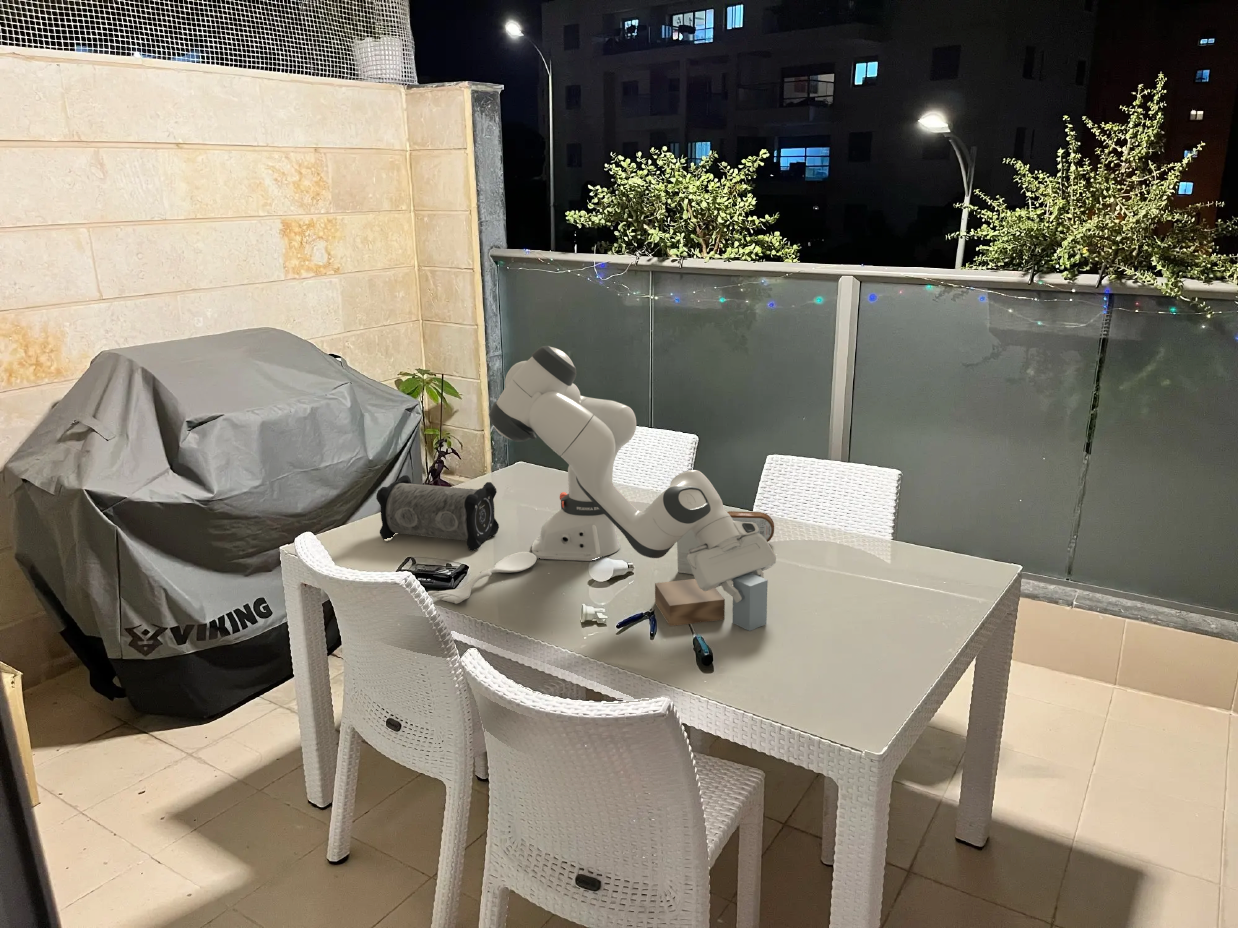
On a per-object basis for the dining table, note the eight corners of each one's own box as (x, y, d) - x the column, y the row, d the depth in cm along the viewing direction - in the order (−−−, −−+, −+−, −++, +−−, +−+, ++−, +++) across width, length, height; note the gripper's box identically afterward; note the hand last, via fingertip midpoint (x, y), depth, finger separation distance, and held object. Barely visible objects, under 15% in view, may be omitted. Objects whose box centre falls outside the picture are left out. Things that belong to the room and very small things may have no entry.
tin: (773, 541, 245) (774, 510, 242) (774, 546, 242) (775, 515, 239) (714, 540, 246) (715, 510, 244) (714, 545, 243) (715, 514, 241)
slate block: (732, 622, 200) (733, 578, 198) (749, 616, 203) (750, 572, 200) (749, 630, 196) (750, 586, 194) (766, 624, 199) (767, 579, 197)
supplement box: (716, 565, 230) (716, 516, 227) (705, 577, 224) (706, 526, 220) (687, 561, 233) (687, 512, 230) (676, 572, 227) (676, 522, 223)
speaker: (476, 554, 241) (472, 497, 237) (377, 543, 250) (372, 489, 246) (501, 533, 255) (498, 480, 251) (407, 524, 263) (402, 472, 259)
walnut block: (669, 627, 200) (669, 605, 198) (655, 603, 211) (654, 583, 209) (724, 620, 202) (724, 599, 201) (706, 598, 213) (707, 577, 212)
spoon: (426, 605, 213) (424, 590, 212) (515, 558, 238) (514, 545, 237) (456, 613, 208) (455, 599, 207) (544, 565, 234) (543, 551, 233)
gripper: (690, 543, 194) (723, 603, 189) (761, 521, 206) (793, 577, 201) (676, 558, 199) (707, 616, 194) (746, 535, 210) (777, 590, 206)
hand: (752, 596), depth 198 cm, fingers closed on slate block, 5 cm apart
